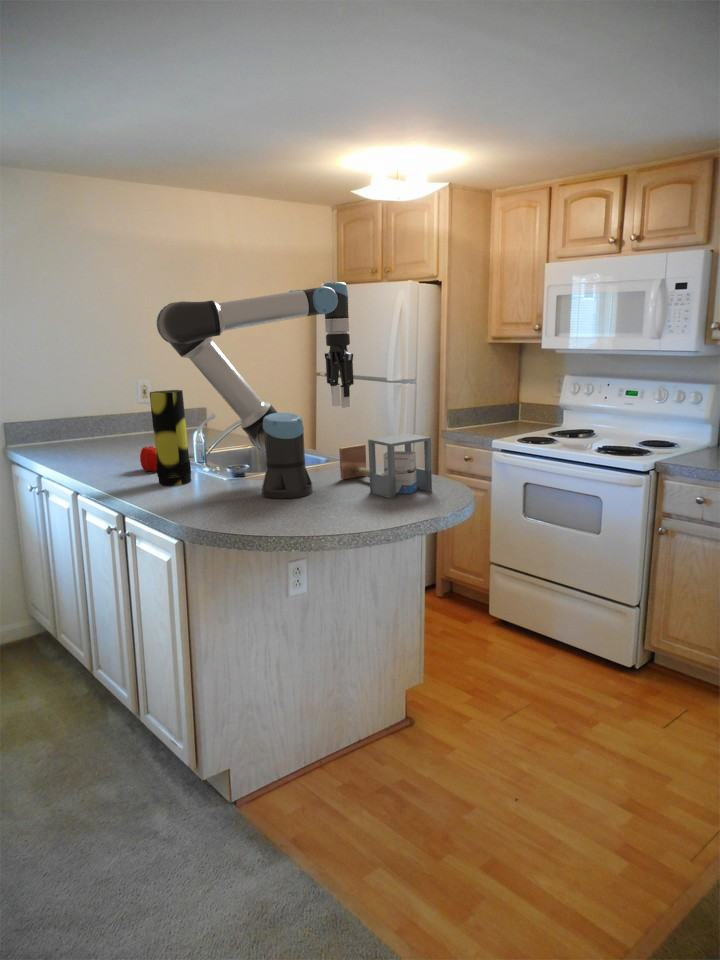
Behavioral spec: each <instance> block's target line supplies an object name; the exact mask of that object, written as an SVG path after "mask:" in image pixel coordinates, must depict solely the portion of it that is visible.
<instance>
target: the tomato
mask: <svg viewBox="0 0 720 960" xmlns="http://www.w3.org/2000/svg"><path fill="white" fill-rule="evenodd" d="M139 461H140V466H141V468H142V469H143V470H144V471H146V472H152V473H153V472H154V473H157V466H156V463H157V459H156V449H155V446H143V447H142V449H141V451H140V453H139Z"/></svg>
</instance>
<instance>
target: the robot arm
mask: <svg viewBox="0 0 720 960" xmlns="http://www.w3.org/2000/svg"><path fill="white" fill-rule="evenodd" d="M348 291H349V290H348V286H347V283H346V282H344V281H343V282H342V281H335V282H325V283H324V284H323V286H319V287H313V288H307V289H293V290H289V291H287V292H281V293H277V294H276V293H275V294H269V295H262V296H257V297H250V298H243V299H237V300H230V301H224V302H216V301H215V300H205V301H186V300H185V301H178V302H177V301H176V302H175V301H174V302H170V303H168V304H166V305H165V306H163V307H162V309H160V311H159V312H158V315H157V318H156V329H157V332H158V334H159V336H161V338H162V339H163V340H164V341H165V342H166V343H168V344H170V345H171V347H172V348H173V349H174V351H176V353H178V355H179V356H180V357H181V358H184V359H185V358H187V359H189V360H190V361H191V362H192V363H193V365H194V366H195V367H196V368H197V369H198V371H199V372H200V373H201V375H203V376H204V378H205V379H206V380H207V381H208V382H209V383H210V384H211V387H213V388H214V389H215V391H217V393H218V394H219V395H220V396H221V397H222V399H223V400H224V401H225V402H226V404H227V405H228V406H229V407H230V408H231V409H232V410H233V412H234V413H235V415H237V417H239V419H240V425H239V426H240V428H241V429H242V430H243V431H244V433H245V434H246V435H247V437H248V440H250V442H251V444H252V445H253V446H254V447H256V448H257V449H258V450H261V451H264V454H265V456H264V457H265V466H266V467H265V468H266V469H265V473H264V479H263V482H262V485H261V493H262V494H261V495H262V496H263V497H265V498H270V499H279V500H280V499H283V500H284V499H294V498H300V497H301V498H302V497H306V496H308V495H310V494H312V493H313V492H314V490H313V482H312V480H311V477H310V474H309V472H308V470H307V466H306V456H305V455H306V454H305V437H304V435H305V434H304V433H305V432H304V430H305V428H304V424H303V423H304V422H303V418H302V417H301V416H300V415H298V414H296V413H290V412H278V411H277V409H276V408H275V407H274V406H273V405H272V404H271V403H270V402H269V401H263V400H262V399H261V398H260V397H259V396H258V394H257V393H256V392H255V391H254V389H253V388H252V387H251V386H250V385H249V383H248V382H247V381H246V379H244V377H243V376H242V375H241V374H240V372H239V371H238V370H237V369H236V368H235V366H234V365H233V364H232V363H231V361H230V360H229V359H228V358H227V356H226V355H225V354H224V353H223V351H222V350H221V349H220V348H219V347H218V345H217V344H216V343H215V341H213V337H217V336H221V335H222V333H223V332H226V331H230V330H236V329H242V328H248V327H249V328H250V327H253V326H254V327H255V326H258V325H259V326H260V325H265V324H266V325H267V324H271V323H277V322H281V321H287V320H288V321H289V320H294V319H300V318H304V317H312V316H317V315H324V326H325V327H324V328H325V332H326V335H325V343H326V346H327V347H329V349H328V350H329V351H328V352H325V353H324V358H325V370H326V383H327V384H328V385H330V388H331V404H332V405H331V406H332V407H340V406H341V408H342V409H344V408H350V407H351V402H350V401H351V400H350V395H351V394H350V392H351V391H350V387H351V386H353V385H354V365H353V362H354V353H352V352H349V351H348V346H350V344H351V337H350V335H351V334H349V332H350V322H349V317H350V316H349V293H348ZM339 375H340V380H341V383H340V382H339Z"/></svg>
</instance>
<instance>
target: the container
mask: <svg viewBox="0 0 720 960" xmlns="http://www.w3.org/2000/svg"><path fill="white" fill-rule="evenodd" d="M183 391H184V390H182V389H168V390H165V389H164V390H155V391H150V392H149V400H150V401H149V403H150V409H151V411H150V413H151V420H152V430H153V438H154V448H155V449H156V459H157V463H156V466H157V471H156V475H157V478H158V484H159V485H160V486H162V487H178V486H184V485H188V484H189V483H191V482H192V475H191V474H192V471H191V470H192V468H191V459H190V454H189V445H188V443H189V442H188V432H187V425H186V424H187V423H186V416H185V415H186V414H185V404H184V403H185V402H184V394H183Z"/></svg>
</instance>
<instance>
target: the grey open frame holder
mask: <svg viewBox="0 0 720 960" xmlns="http://www.w3.org/2000/svg"><path fill="white" fill-rule="evenodd" d="M422 442H423V446H424V447H423V448H424V449H423V450H424V454H423V455H424V468H423V467H418V466H416V480H417V489H419V490H423V491H427V492H432V491H433V488H432V487H433V484H432V483H433V480H432V478H433V477H432V476H433V475H432V474H433V473H432V470H433V469H432V437H431V436H424V435H419V434H413V433H401V434H395V435H387V436H382V437H380V436H379V437H376V438H375V437H374V438H369V439H367V445H368V465H369V468H368V469H369V471H370V478H369V491H370V492H369V493H371V494H375V495H378V496H382V497H385V498H388V499H392V500H395V499H396V498H397V497H396V496H397V493H396V487H395V456H394V451H395V447H397V446H403V445H404V452H412V444H416V443H422ZM376 445H381V446H385V447H387V448H386V449H387V452H388V476H387V475H383V474H380V473H381V472H380V473H376V471H377V467H376V466H377V464H376V463H377V462H376V461H377V460H376Z"/></svg>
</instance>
